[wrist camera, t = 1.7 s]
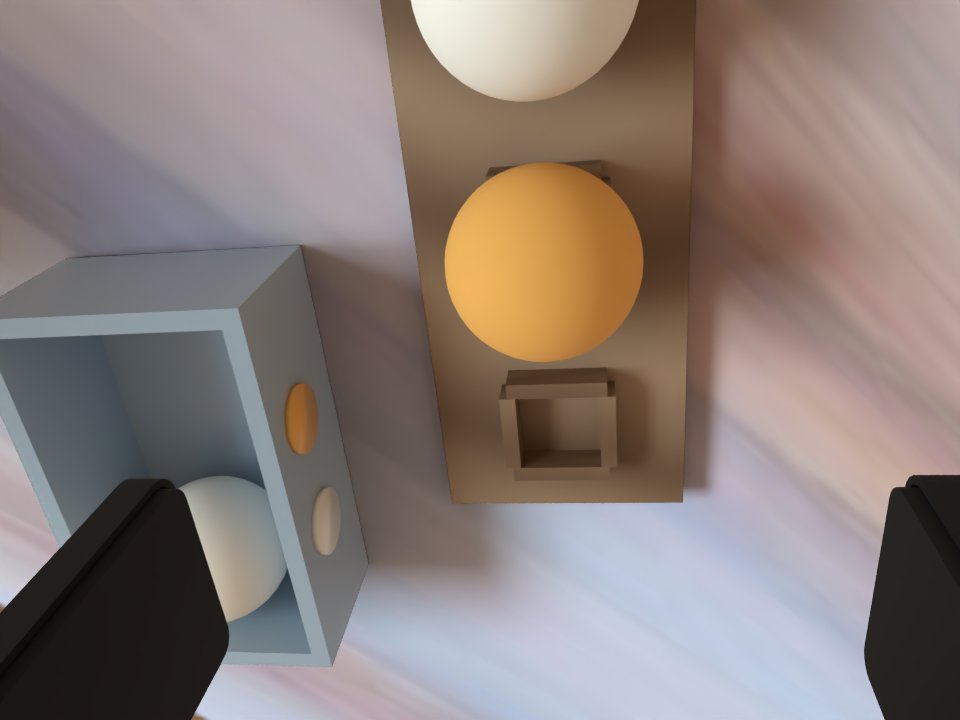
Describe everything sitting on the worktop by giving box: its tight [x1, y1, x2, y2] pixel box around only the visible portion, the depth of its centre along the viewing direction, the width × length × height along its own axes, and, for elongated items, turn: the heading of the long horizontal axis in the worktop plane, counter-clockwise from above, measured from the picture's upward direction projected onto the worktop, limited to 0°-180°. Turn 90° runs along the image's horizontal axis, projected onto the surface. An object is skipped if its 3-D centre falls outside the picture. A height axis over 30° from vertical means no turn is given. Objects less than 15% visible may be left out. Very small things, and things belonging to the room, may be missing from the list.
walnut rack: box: [380, 0, 696, 503], centre depth 22 cm, size 20×8×2 cm, turn 6°
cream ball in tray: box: [178, 476, 288, 622], centre depth 27 cm, size 5×5×5 cm
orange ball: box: [445, 162, 643, 362], centre depth 20 cm, size 5×5×5 cm
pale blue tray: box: [0, 245, 369, 667], centre depth 26 cm, size 13×8×5 cm, turn 6°
